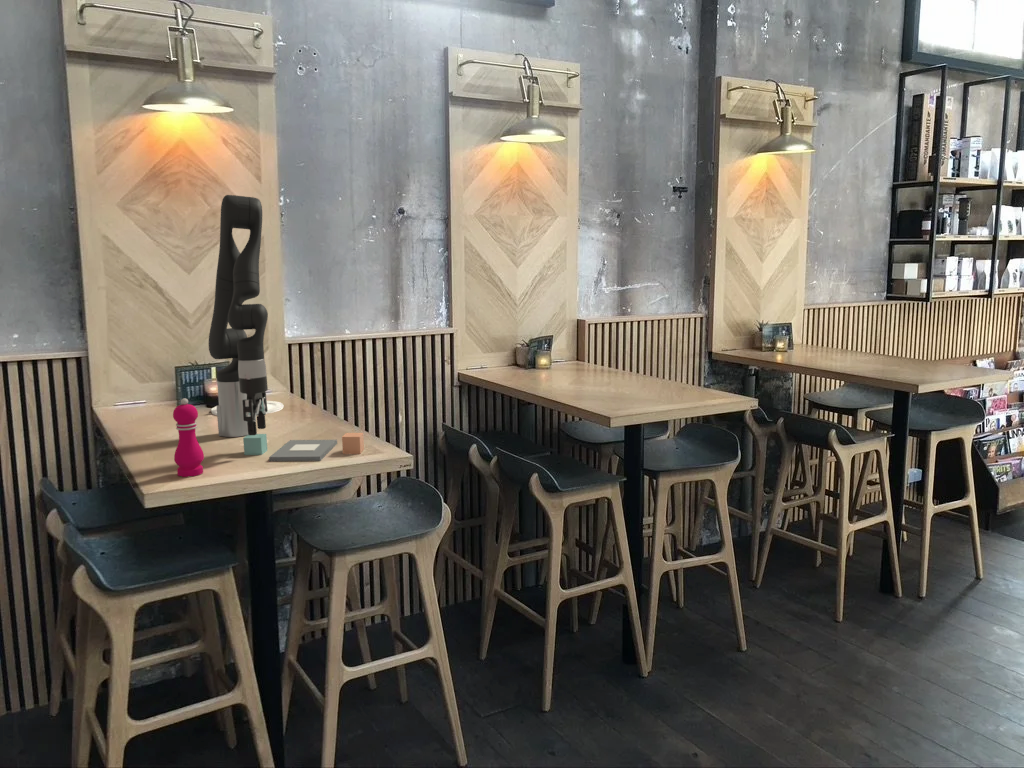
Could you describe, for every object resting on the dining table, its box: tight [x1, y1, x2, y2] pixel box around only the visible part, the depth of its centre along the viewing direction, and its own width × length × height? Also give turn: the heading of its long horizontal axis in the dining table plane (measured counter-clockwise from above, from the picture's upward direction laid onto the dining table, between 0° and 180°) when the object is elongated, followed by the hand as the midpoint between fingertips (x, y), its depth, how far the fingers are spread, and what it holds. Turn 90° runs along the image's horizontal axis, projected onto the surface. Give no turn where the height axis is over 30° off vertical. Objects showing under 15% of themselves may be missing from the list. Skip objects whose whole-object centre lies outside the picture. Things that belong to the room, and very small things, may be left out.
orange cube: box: [341, 432, 365, 455], centre depth 241 cm, size 5×5×5 cm
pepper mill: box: [172, 397, 205, 478], centre depth 219 cm, size 7×7×20 cm
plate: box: [268, 439, 338, 462], centre depth 241 cm, size 14×20×1 cm
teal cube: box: [242, 433, 268, 456], centre depth 242 cm, size 5×5×5 cm
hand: (257, 431), depth 241 cm, fingers open, 8 cm apart
